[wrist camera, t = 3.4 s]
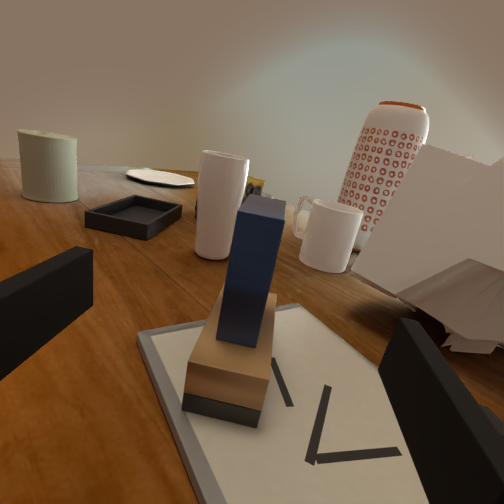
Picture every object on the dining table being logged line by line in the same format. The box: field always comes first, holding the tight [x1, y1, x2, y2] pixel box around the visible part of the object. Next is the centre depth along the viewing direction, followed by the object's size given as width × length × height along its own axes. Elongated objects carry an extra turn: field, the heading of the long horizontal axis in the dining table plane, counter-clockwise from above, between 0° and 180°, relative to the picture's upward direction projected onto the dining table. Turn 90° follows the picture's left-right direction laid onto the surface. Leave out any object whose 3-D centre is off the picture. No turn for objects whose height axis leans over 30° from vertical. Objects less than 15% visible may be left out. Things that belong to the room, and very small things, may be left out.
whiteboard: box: [136, 303, 429, 504], centre depth 22 cm, size 18×24×1 cm
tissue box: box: [350, 144, 504, 354], centre depth 34 cm, size 20×16×25 cm
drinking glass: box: [195, 150, 250, 260], centre depth 45 cm, size 7×7×15 cm
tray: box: [85, 195, 182, 240], centre depth 55 cm, size 16×10×3 cm, turn 173°
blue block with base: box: [181, 194, 286, 428], centre depth 22 cm, size 11×5×13 cm, turn 173°
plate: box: [126, 170, 194, 186], centre depth 94 cm, size 20×20×2 cm
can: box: [17, 130, 79, 203], centre depth 58 cm, size 9×9×12 cm
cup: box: [292, 196, 364, 273], centre depth 53 cm, size 8×12×10 cm
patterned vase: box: [337, 101, 429, 252], centre depth 62 cm, size 13×13×28 cm
